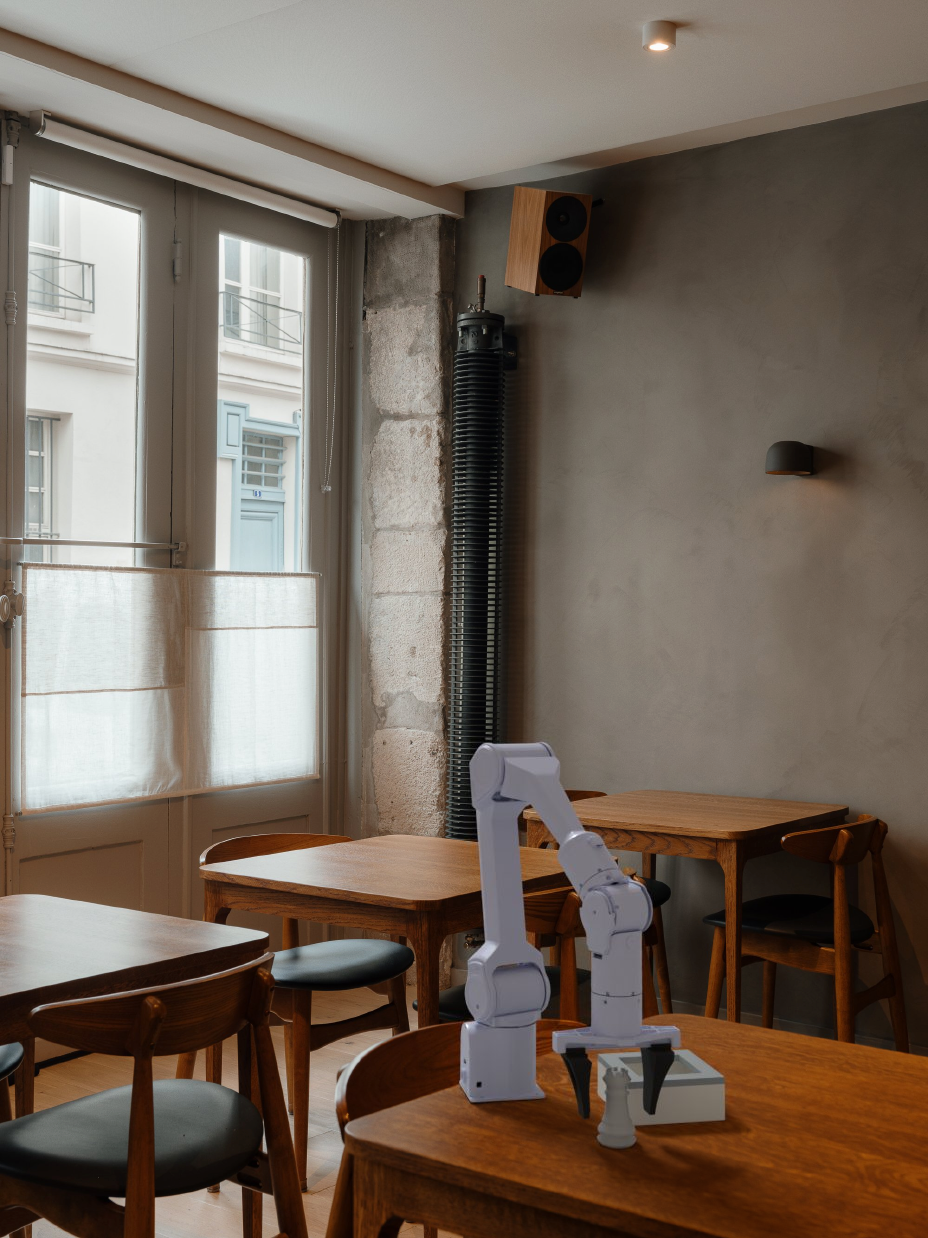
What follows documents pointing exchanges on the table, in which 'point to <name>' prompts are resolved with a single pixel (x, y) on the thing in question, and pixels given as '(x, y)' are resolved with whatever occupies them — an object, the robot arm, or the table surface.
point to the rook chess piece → (616, 1111)
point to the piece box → (670, 1089)
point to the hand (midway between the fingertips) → (616, 1114)
